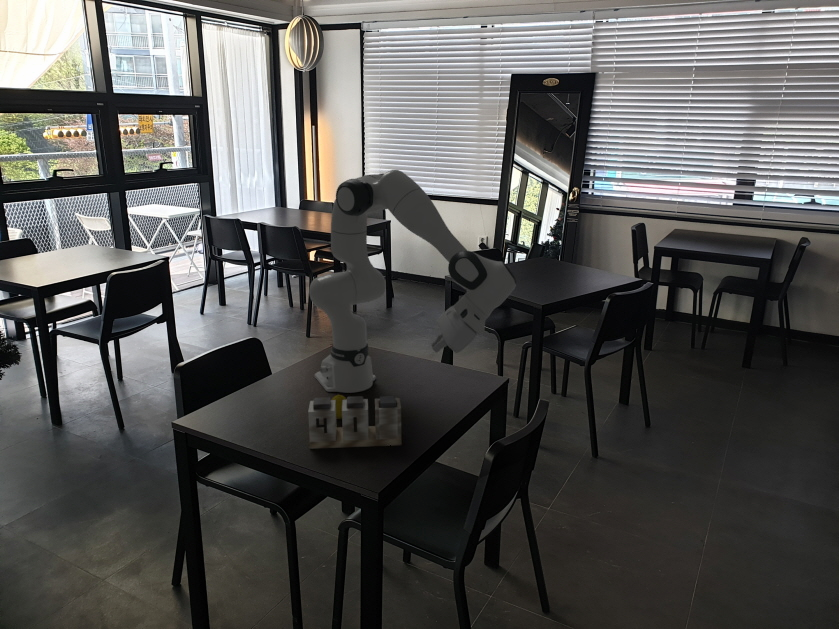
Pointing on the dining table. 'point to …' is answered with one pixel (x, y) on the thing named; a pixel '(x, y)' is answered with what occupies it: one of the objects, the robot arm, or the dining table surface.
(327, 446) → the button panel
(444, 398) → the dining table surface
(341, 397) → the lemon
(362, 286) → the robot arm
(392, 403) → the plain button
